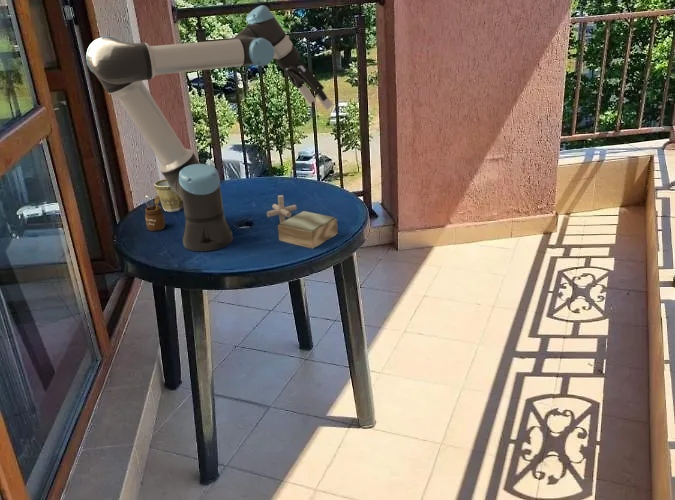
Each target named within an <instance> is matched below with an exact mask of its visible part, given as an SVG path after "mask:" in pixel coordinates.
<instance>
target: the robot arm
mask: <svg viewBox="0 0 675 500" xmlns="http://www.w3.org/2000/svg"><path fill="white" fill-rule="evenodd" d="M245 17H246V18H245V19H246V22H247V25H246V26H245V28H243V29H242V30H241V31H240V32H239V33H237V34H236V35H235V36H234V37H232V39H221V40H209V41H199V42H184V43H174V44H173V43H172V44H161V45H149V44H148V43H146V42H138V43H137V42H126V41H122V40H120V39H118V38H116V37H113V36H103V37H102V36H101V37H99V38H95V40H93V41H92V42H91V43H90V44H89V46H88V48H87V51H86V55H85V57H86V58H85V59H86V65H87V67H88V68H89V70H90V72H91V73H93V74H94V75H95V76H96V78H97V79H98V81H99V82H100V83H101V85H102V88H104V90H105V91H106V93H107V94H108V95H111V96H116V97H117V99H118V101H119V102H120V103H121V105H122V107H123V109H124V110H125V111H126V113H127V114H128V116H129V117H130V119H131V120H132V122H133V124H134V125H135V126H136V128H137V129H138V131H139V132H140V133H141V135H142V137H143V138H144V140H145V141H146V143H148V146H149V148H150V149H151V150H152V152H154V154H155V156H156V158H157V159H158V161H159V162H160V167H159V171H160V172H161V174H162V176H163V177H164V179H166V180H167V182H168V185H169V187H170V188H171V189H172V190H173V191H174V192H175V193H176V194H177V195H178V196H179V197H180V198H181V199H182V201H183V211H184V219H185V224H184V229H183V232H184V233H183V235H182V245H183V247H184V248H185V249H186V250H189V251H192V252H193V251H194V252H211V251H215V250H219V249H222V248H224V247H227V246H228V245H230V244H231V243H232V242H233V237H234V236H233V231H232V229H231V227H230V224H229V223H228V221H227V219H226V217H225V212H224V206H223V205H224V204H223V195H222V189H221V178H220V174H219V170H217V169H216V167H215V166H213V165H210V164H205V163H201V162H200V161H199V159H198V158H197V156H196V154H195V153H194V152H193V150H192V149H189V148H185V147H184V145H183V144H182V141H181V140H180V139H179V136H178V135H177V134H176V132H175V131H174V129H173V128H172V126H171V125H170V122H169V121H168V120H167V118H166V117H165V115H164V113H163V112H162V110H161V108H160V107H159V106H158V104H157V102H156V100H155V99H154V97H153V95H152V94H151V93H150V91H149V90H148V88H147V87H146V85H145V83H144V82H143V81H148V80H149V81H151V80H153V79H154V77H155V76H158V75H169V74H176V73H177V74H179V73H187V72H196V71H197V72H198V71H205V70H214V69H224V68H233V67H234V68H240V67H245V66H258V67H261V66H263V67H265V66H267V65H269V64H270V63H271V62H272V61H273V59H275V62H276V63H277V65H278V67H280V69H281V70H285V72H286V75H287V76H288V78H289V80H290V82H291V84H292V86H293V87H295V88H296V89H298V91H299V92H300V94H301V95H302V96H303V98H304V100H305V101H306V102H307V104H308V105H311V104H312V103H313V102H314V101H316V98H315V97H314V96H316V97H317V100H318V101H319V102H320V104H321V105H322V106H323V108H324V109H325V110H326V111H328V110H329V109H330V108H331V107H332V106H333V105H334V104H333V103H332V102H331V100H330V98H329V97H328V95H327V94H326V92H325V91H324V89H325V86H324V85H323V84H322V83H321V82H320V80H319V79H317V78H316V77H315V75H314V74H313V73H312V72H311V71H310V70H309V69H308V67H307V66H306V64H304V63H300V62H299V59H300V57H301V53H300V52H299V51H298V49H297V48H296V46H295V45H294V44H293V42H292V41H291V39H290V35H289V34H288V35H287V33H286V32H285V31H284V29H283V28H282V26H281V24H280V23H279V22H278V20H277V18H276V17H275V15H274V14H273V13H272V12H271V10H270V8H269V7H267V5H263V4H262V5H259V6H257V7H255V8H254V9H252V10H251V11H250V12H249V13H248V14H247V15H246V16H245ZM307 86H308V87H307ZM309 88H310V89H311V91H313V94H312V92H311V91H310V89H309Z"/></svg>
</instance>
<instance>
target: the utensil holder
mask: <svg viewBox="0 0 675 500" xmlns="http://www.w3.org/2000/svg"><path fill="white" fill-rule="evenodd" d="M144 199H146V200H149V199H150V200H149V201H150V204H149V202H145V205H146V206H147V207H146V208H145V211H144V212H145V215H144V217H145V219H144V220H145V224H146V229H147V231H150V232H157V231H161V230H163V229H164V228H165V227H166V220H165V215H164V212H163V211H162V210H163V208H162V206H160V205H159V204H160V199H159V195H158V194H157V195H155V196H154V203H153V198H150V196H149V195H146V196H144Z"/></svg>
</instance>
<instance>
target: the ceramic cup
mask: <svg viewBox="0 0 675 500" xmlns="http://www.w3.org/2000/svg"><path fill="white" fill-rule="evenodd" d="M153 185H154V188H155V191H156V193H157V196H158V195H159V202H160V204H161V208H162V210H164V211H165V212H166V211H167V212H168V213H170V212H171V213H173V212H179V211H180V210H183V209H184V206H183V201H182V199H181V198H180V197H179V196H178V195H177V194H176V193H175V192H174V191H173V190H172V189H171V188H170V187H169V185H168V182H167V180H166V178H162V179H158V180H157V181H155V182H154V183H153Z"/></svg>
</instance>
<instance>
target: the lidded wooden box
mask: <svg viewBox="0 0 675 500" xmlns="http://www.w3.org/2000/svg"><path fill="white" fill-rule="evenodd" d="M277 233H278V240H279V241H280V242H284V243H287V244H292V245H296V246H300V247H304V248H309V249H312V250H313V249H314V248H316V247H318V246H320V245H322V244H323V243H325V242H326V240H327V241H329V240H330V239H332V238H333V237H335V236H337V235H338V234H339V232H338V218H335V216H331V215H325V214H321V213H317V212H316V213H315V212H310V211H306V210H303V211H301V212H299V213H297V214H295V215H293V216H291V217H289V218H287V219H285V221H283V222H281V223H280V222H279V224H278V225H277ZM336 234H337V235H336ZM331 237H332V238H331ZM329 238H330V239H329Z"/></svg>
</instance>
